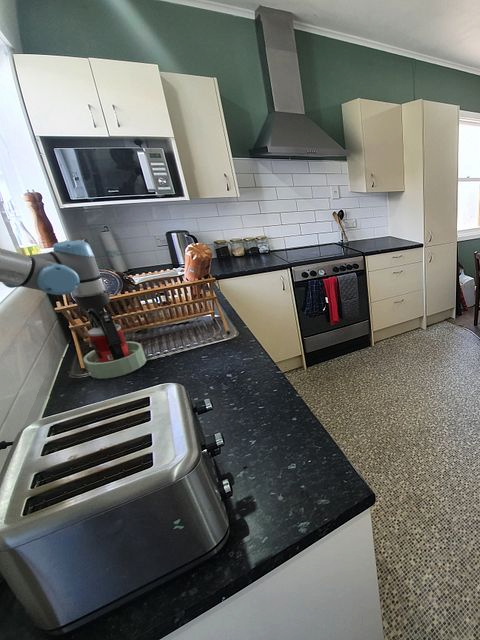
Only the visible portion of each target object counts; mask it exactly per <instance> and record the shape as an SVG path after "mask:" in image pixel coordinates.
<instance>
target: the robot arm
mask: <svg viewBox="0 0 480 640" xmlns="http://www.w3.org/2000/svg"><path fill="white" fill-rule="evenodd" d="M52 248H53V250H52V251H49V252H48V251H47V252H43V253H41V252H40V253H35V254H27V255H26V254H23V253H19V252H15V251H12V250H9V249H4V248H0V283H2V284H3V285H4V286H5V287H7V288H10V289H15V288H21V287H22V288H27V289H32V290H36V291H42V292H43V293H46V294H49V295H56V296H64V295H69V294H72V295H73V296H74V297H73V299H74V301H75V304H76V307H77V308H78V309H81V310H84V311H85V313H86V316H87V319H88V322H89V325H90V328H91V329H93V328H98V327H100V328H101V330H102V332H103V333H104V335H105V337H106V339H107V341H108V343H109V345H107V347H109V349H110V351H111V354H112V357H113V359H114V360H118V359H121V358H124V357H125V356H124V353H123V350H122V348H121V345H120V344H121V343H122V341H121V339H120V336H119V334H118V332H117V329H116V327H115V325H114V324H115V323H114V320H113V316H112V314H111V313H109V311H108V309H105V306H107V305H109V304H110V303H111V300H110V299H111V298H110V297H109V294H108V292H107V291H106V286H105V284H104V283H106V280H105V279H102V275H101V273H100V269H99V267H98V263H97V261H96V258H95V257H96V255H94V253H93V250H92V248H91V246H90V244H89V243H88V242H86V241H83V240H66V241H65V240H64V241H60V242H55V243H54V244H53V245H52Z"/></svg>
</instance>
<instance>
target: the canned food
mask: <svg viewBox="0 0 480 640" xmlns="http://www.w3.org/2000/svg"><path fill="white" fill-rule="evenodd" d="M114 325H115V327H116V329H117V332H118V334H119V336H120V339H121V341H122V343H121V344H120V345H121V348H122V350H123V353H124V356H125V357H127V356H129V355H130V351H129V348H128V345H127V343H126V342H127V340H126V337H125V334H124V331H123V329H122V327H121V324H118V323H114ZM87 335H88V338H89V340H90V342H91V345H92V347H93V350H95V352H96V355H97V357H98V360H99V361H100V362H101V363H103V362H110V361H114V359H113V357H112V354H111V351H110V349H109V347H107V345H109V343H108V341H107V339H106V337H105V335H104V333H103V332H102V330H101V328H100V327H98V328H93V329H92V328H91V329H89V330H88V331H87Z"/></svg>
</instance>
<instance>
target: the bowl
mask: <svg viewBox="0 0 480 640" xmlns="http://www.w3.org/2000/svg"><path fill="white" fill-rule="evenodd" d="M126 343H127V345H128V348H129V351H130V355H129V356H127V357H124V358H121V359H118V360H114V361H110V362H103V363H101V362H100V361H99V360H98V357H97V355H96V352H95V350H94V349H93V350H91V351H90V352H88V353H86V355H85V356H83V361H82V362H84V365H85V368H86V370H87V372H88V374H89V376H90V377H91V378H93V379H102V380H103V379H113V378H118V377H121V376H125V375H127V374H130V373H132V372H135V371H136V370H138V369H140V368H141V367H143V366H144V365H145V364H146V363H147V357H146V354H145V351H144V349H143V345H142V344H141V343H139V342H137V341H126Z"/></svg>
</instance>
